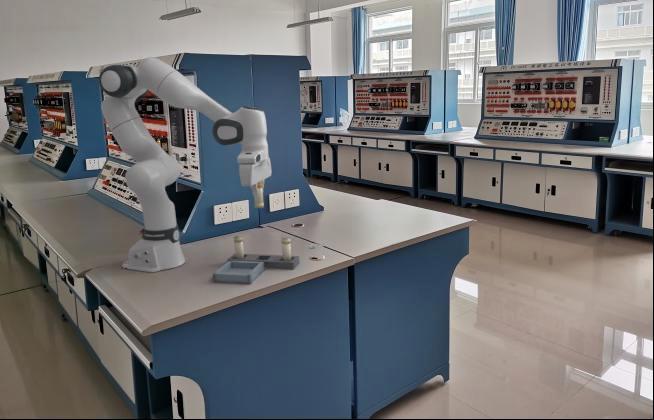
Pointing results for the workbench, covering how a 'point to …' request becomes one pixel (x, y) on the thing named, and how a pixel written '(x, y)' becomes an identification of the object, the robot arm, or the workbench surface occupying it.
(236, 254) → the left fuse
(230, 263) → the parts tray
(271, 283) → the workbench surface
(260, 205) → the marked fuse
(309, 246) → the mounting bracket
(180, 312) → the workbench surface
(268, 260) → the fuse holder
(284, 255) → the right fuse
